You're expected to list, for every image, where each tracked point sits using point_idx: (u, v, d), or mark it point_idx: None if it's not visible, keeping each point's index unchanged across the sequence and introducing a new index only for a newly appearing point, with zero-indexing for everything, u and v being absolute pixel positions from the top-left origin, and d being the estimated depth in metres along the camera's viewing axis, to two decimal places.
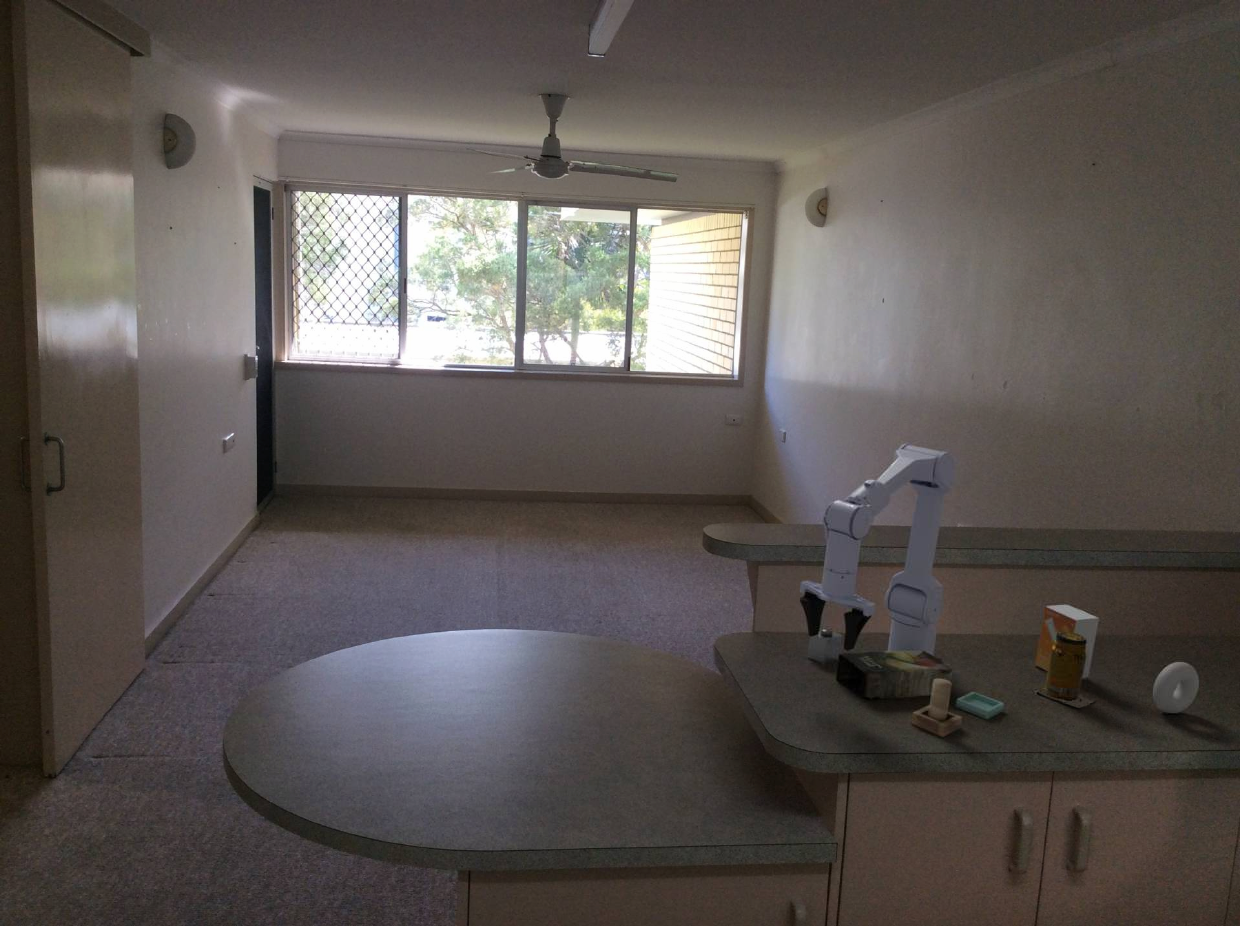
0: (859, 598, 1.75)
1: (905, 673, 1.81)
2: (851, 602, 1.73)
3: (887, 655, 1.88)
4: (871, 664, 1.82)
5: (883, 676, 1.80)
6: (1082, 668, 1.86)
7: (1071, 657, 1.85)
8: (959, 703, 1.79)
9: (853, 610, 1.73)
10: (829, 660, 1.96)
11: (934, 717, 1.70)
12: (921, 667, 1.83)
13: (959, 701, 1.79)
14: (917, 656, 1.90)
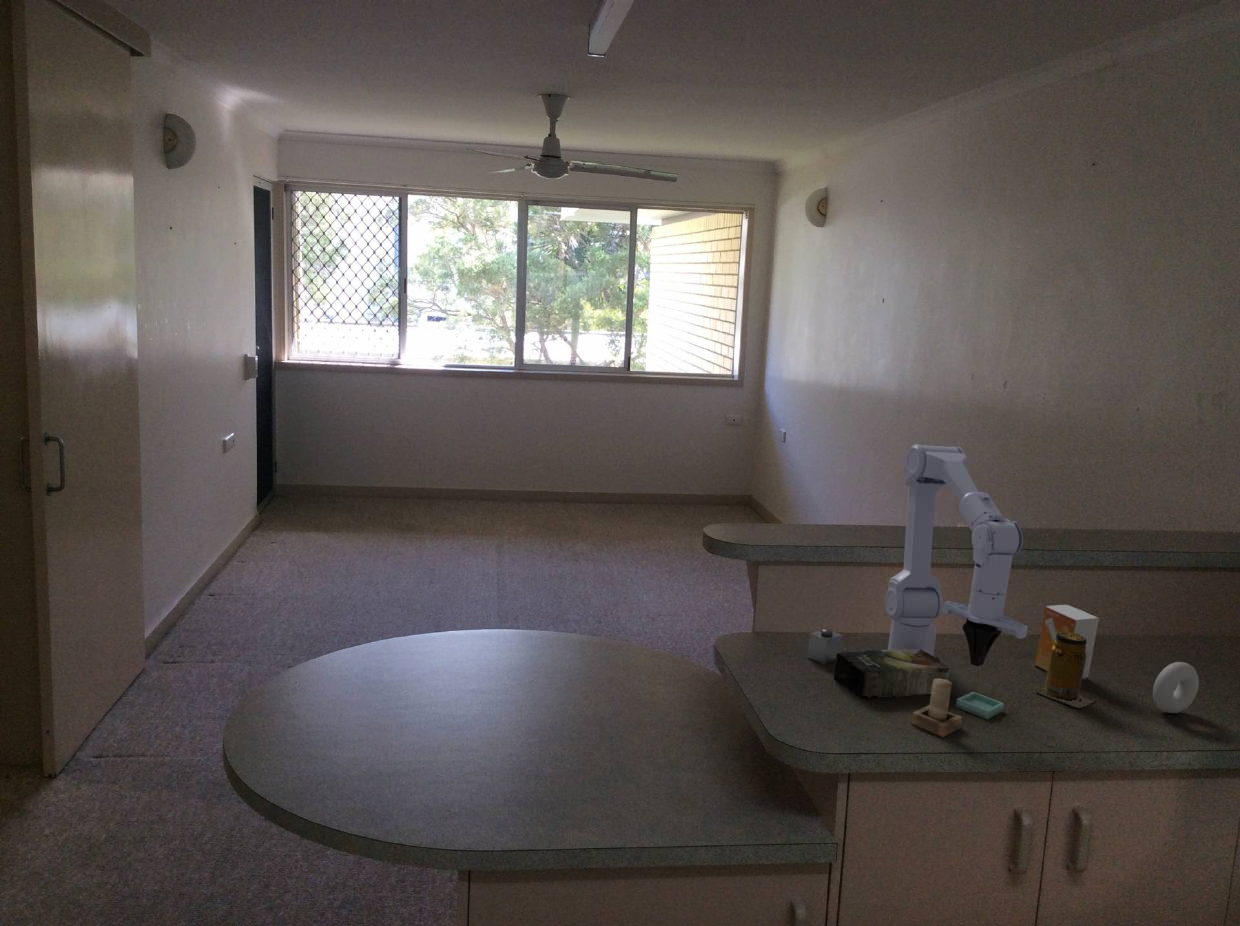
0: (1008, 619, 1.71)
1: (903, 672, 1.82)
2: (1003, 624, 1.68)
3: (885, 654, 1.89)
4: (869, 663, 1.83)
5: (881, 675, 1.80)
6: (1082, 668, 1.86)
7: (1071, 657, 1.85)
8: (959, 703, 1.79)
9: None
10: (829, 660, 1.96)
11: (934, 717, 1.70)
12: (919, 666, 1.84)
13: (959, 701, 1.79)
14: (915, 655, 1.90)
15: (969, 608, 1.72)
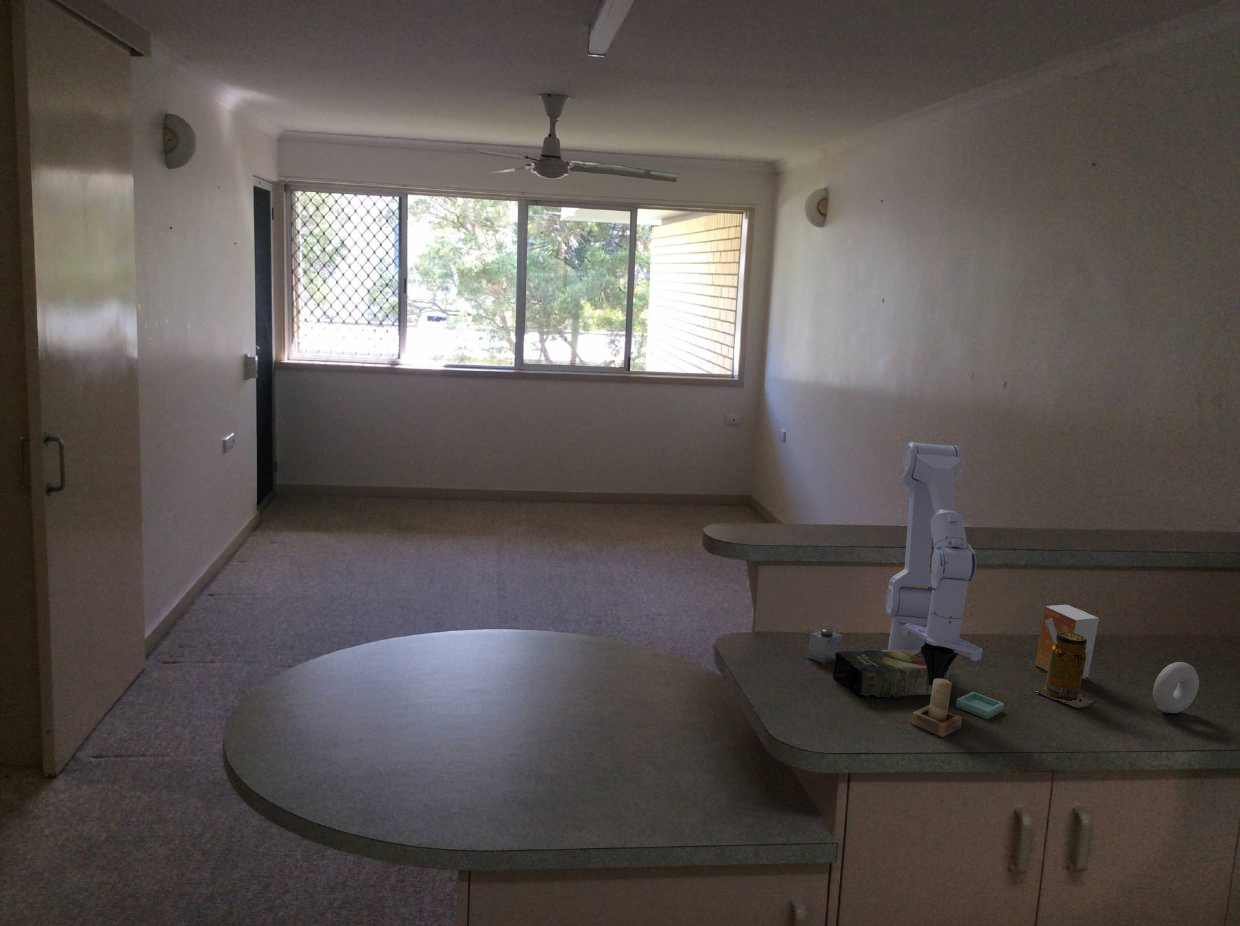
0: (964, 642, 1.77)
1: (902, 672, 1.82)
2: (959, 647, 1.75)
3: (884, 654, 1.89)
4: (867, 662, 1.83)
5: (879, 675, 1.80)
6: (1082, 668, 1.86)
7: (1071, 657, 1.85)
8: (959, 703, 1.79)
9: None
10: (829, 660, 1.96)
11: (934, 717, 1.70)
12: (917, 666, 1.84)
13: (959, 701, 1.79)
14: (915, 655, 1.90)
15: (927, 631, 1.78)
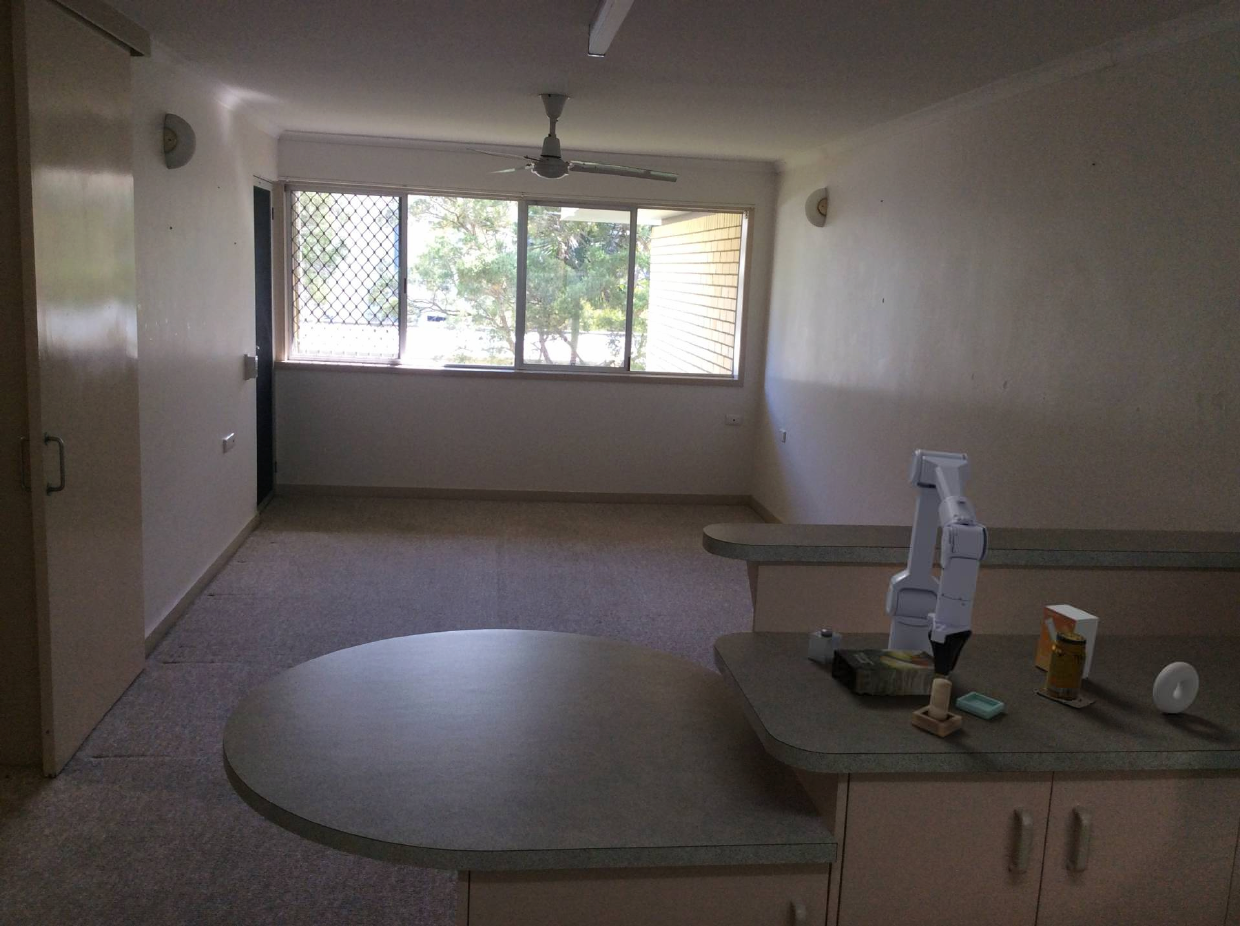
0: None
1: (898, 671, 1.82)
2: (933, 624, 1.65)
3: (884, 653, 1.89)
4: (863, 660, 1.84)
5: (874, 673, 1.81)
6: (1082, 668, 1.86)
7: (1071, 657, 1.85)
8: (959, 703, 1.79)
9: None
10: (829, 660, 1.96)
11: (934, 717, 1.70)
12: (915, 666, 1.84)
13: (959, 701, 1.79)
14: (916, 656, 1.90)
15: None
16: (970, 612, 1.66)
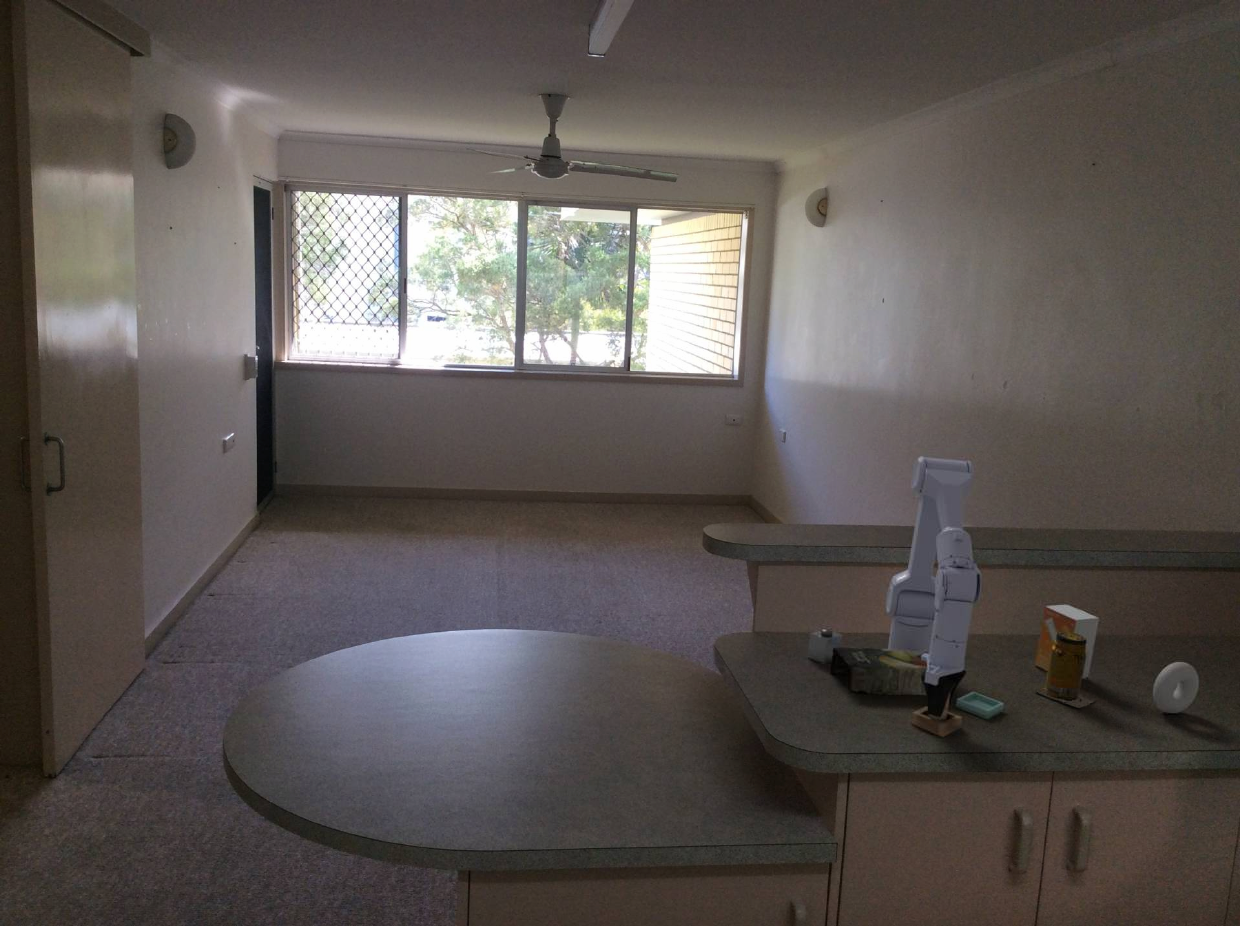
0: None
1: (895, 670, 1.82)
2: (927, 666, 1.67)
3: (884, 652, 1.89)
4: (861, 659, 1.84)
5: (870, 671, 1.81)
6: (1082, 668, 1.86)
7: (1071, 657, 1.85)
8: (959, 703, 1.79)
9: None
10: (829, 660, 1.96)
11: (934, 717, 1.70)
12: (913, 666, 1.83)
13: (959, 701, 1.79)
14: (917, 656, 1.90)
15: None
16: (963, 654, 1.67)
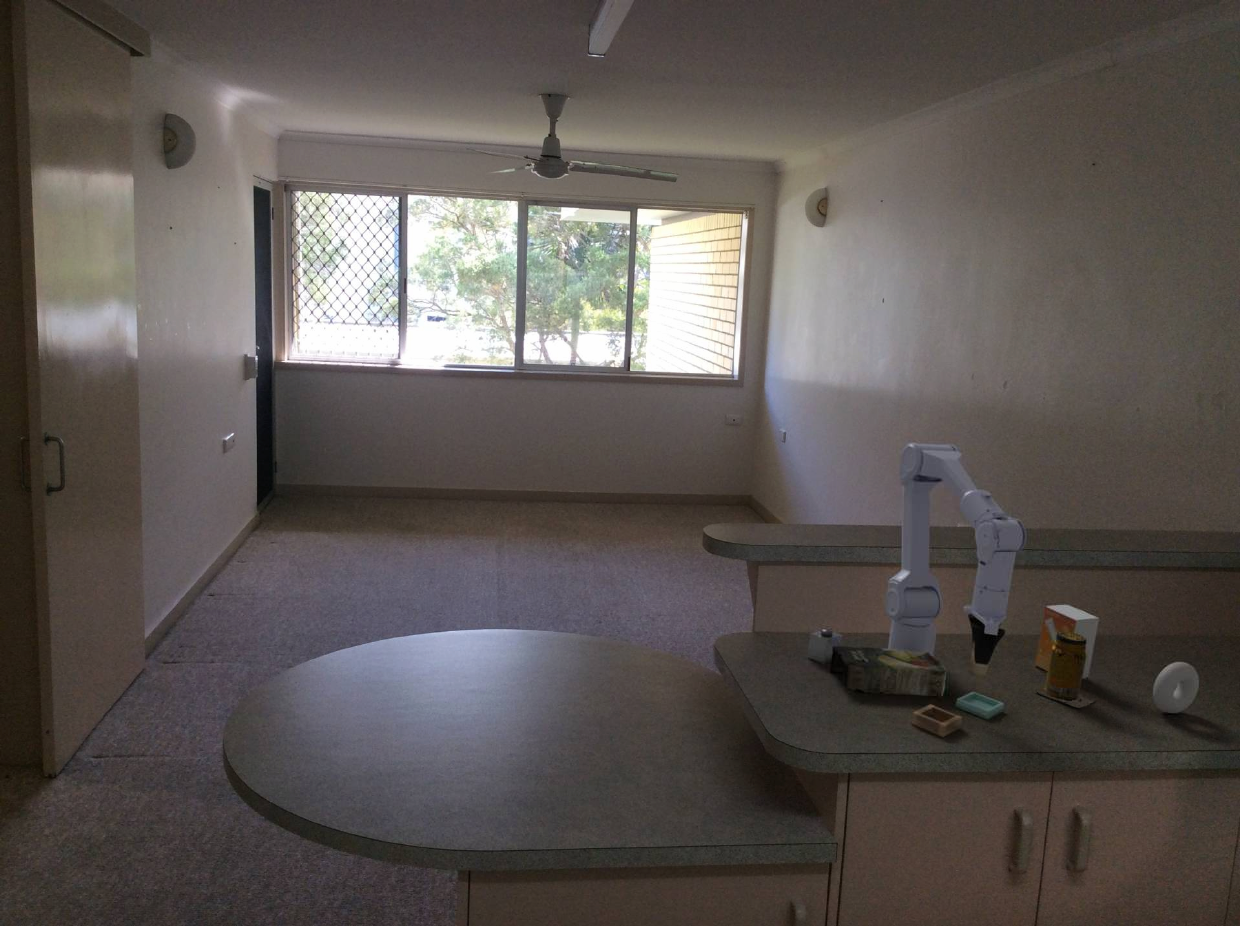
0: None
1: (892, 669, 1.83)
2: (980, 617, 1.71)
3: (884, 652, 1.90)
4: (858, 657, 1.85)
5: (866, 670, 1.82)
6: (1082, 668, 1.86)
7: (1071, 657, 1.85)
8: (959, 703, 1.79)
9: (984, 627, 1.71)
10: (829, 660, 1.96)
11: (980, 666, 1.75)
12: (911, 666, 1.84)
13: (959, 701, 1.79)
14: (917, 657, 1.90)
15: None
16: (1007, 601, 1.74)
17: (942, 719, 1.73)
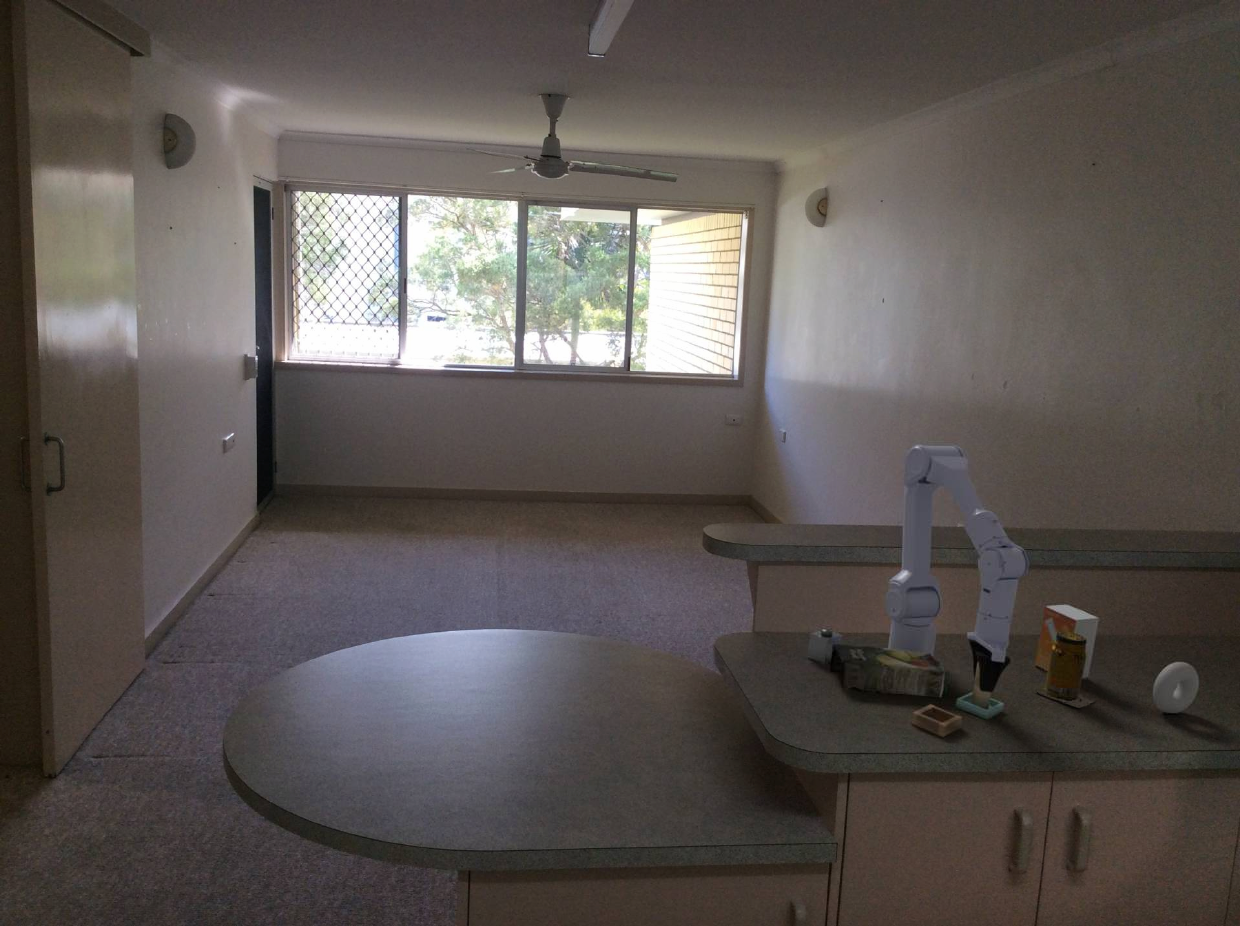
0: (1005, 646, 1.74)
1: (889, 669, 1.83)
2: (985, 644, 1.73)
3: (884, 651, 1.90)
4: (856, 656, 1.86)
5: (863, 668, 1.83)
6: (1082, 668, 1.86)
7: (1071, 657, 1.85)
8: (959, 703, 1.79)
9: (989, 654, 1.74)
10: (829, 660, 1.96)
11: (983, 698, 1.78)
12: (909, 665, 1.84)
13: (959, 701, 1.79)
14: (918, 657, 1.89)
15: None
16: None
17: (942, 719, 1.73)
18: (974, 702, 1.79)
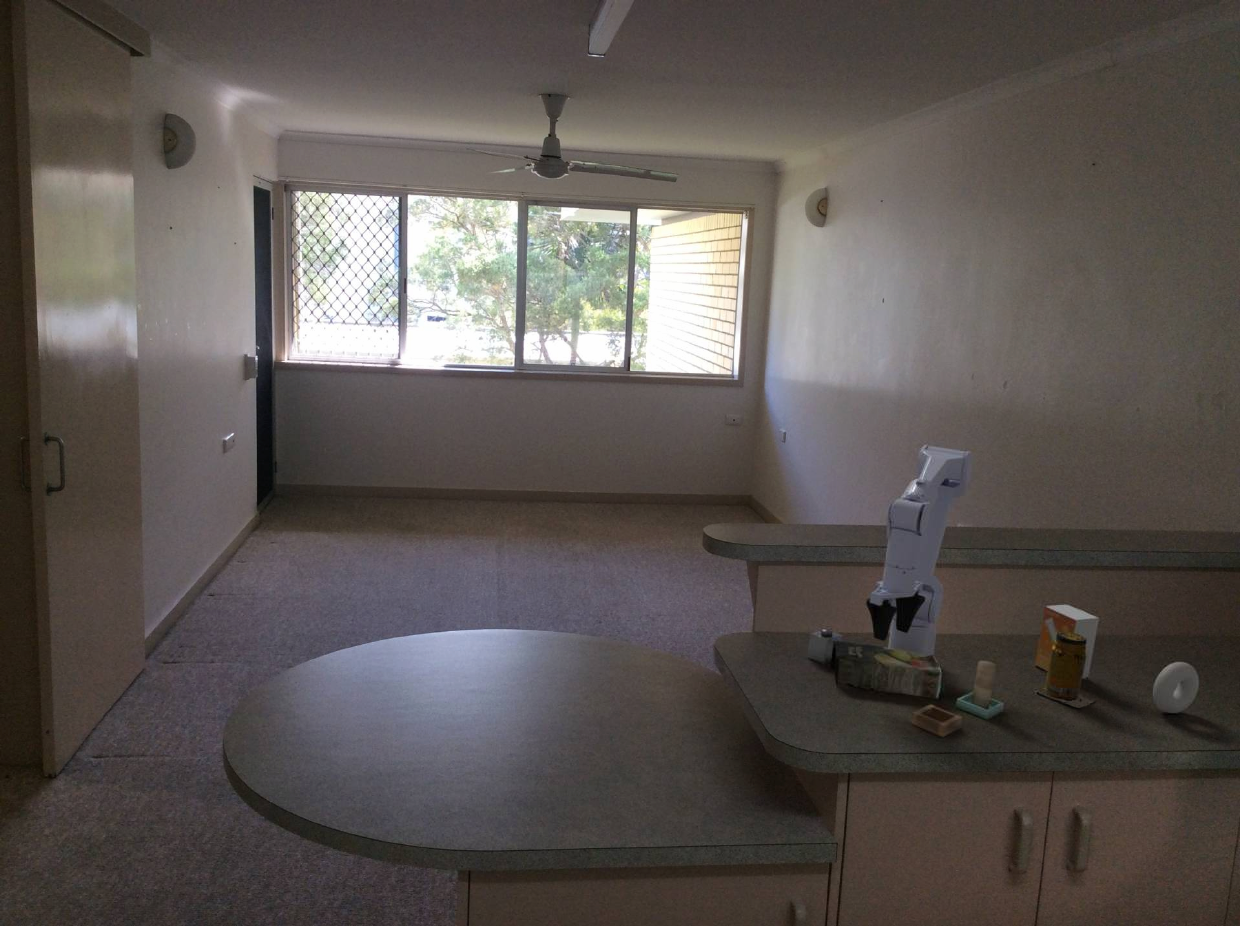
0: None
1: (884, 667, 1.84)
2: None
3: (884, 651, 1.90)
4: (853, 653, 1.87)
5: (857, 665, 1.84)
6: (1082, 668, 1.86)
7: (1071, 657, 1.85)
8: (959, 703, 1.79)
9: None
10: (829, 660, 1.96)
11: (983, 698, 1.78)
12: (905, 665, 1.84)
13: (959, 701, 1.79)
14: (919, 658, 1.89)
15: None
16: (912, 580, 1.81)
17: (942, 719, 1.73)
18: (974, 702, 1.79)
